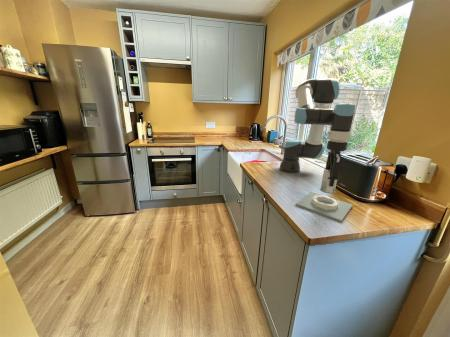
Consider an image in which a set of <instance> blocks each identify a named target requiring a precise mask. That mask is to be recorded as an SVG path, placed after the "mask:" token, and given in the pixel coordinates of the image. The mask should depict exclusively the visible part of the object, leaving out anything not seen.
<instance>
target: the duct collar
mask: <svg viewBox="0 0 450 337" xmlns="http://www.w3.org/2000/svg"><path fill="white" fill-rule="evenodd" d="M322 173H323V174H322V180H321V183H320V184H321V185H320V189H319V190H320V192H322V193H323V194H324V193H325V194H328V195H331V194H333V195H334V194H335V191H336V187H337V186H336V185H337V182H338V179H337V180H335V184H334V189H333V193H329V192H326V187H327V183H328V178H329V177H330V169H325V168H324V170H323V172H322Z"/></svg>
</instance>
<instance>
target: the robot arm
mask: <svg viewBox="0 0 450 337" xmlns="http://www.w3.org/2000/svg"><path fill="white" fill-rule="evenodd" d="M339 95H340V81H339V80H338V79H337V78H310V79H307V80H304V81H303V82H301V83H299V85H298V86H297V88H296V90H295V97H296V99H297V106H298V107H297V108H296V109H295V112H294V117H293V118H294V120H293V121H294V124H297V125H298V124H299V125H310V127H309V132H308V136H307V138H305V140H304V141H303V140H302V139H288V140H286V141H285V142H284V150H283V156H282V161H281V162H280V165H279V170H280V171H282V172H285V173H293V174H294V173H299V172H300V170H301V166H300V159H301V158H302V159H311V160H317V159H321V157H322V156H323V154H324V150H325V143H324V141H323V140H322V138H323V134H324V130H325V126H330V130H329V132H328V133H327V134H328V140H327V144H326V149H327V150H329V151H328V153H327V158H326V164H325V168H324V170H325V169H330V177H329V178H328V183H327V187H326V192H329V193H333V189H334V184H335V180H337V181H338V179H339V173H340V169H341V164H342V160H343V157H342V155H341V152H344V151H346V150H347V147H348V141H349V139H350V134H351V128H352V125H353V121H354V117H355V114H356V113H355V112H356V105H355V104H354V103H336V104H335V106H334V108H330V106H331V105H332V104H333V103H334V101H335V100H337V99H338V98H339ZM333 194H334V193H333Z"/></svg>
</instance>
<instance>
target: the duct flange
mask: <svg viewBox="0 0 450 337" xmlns="http://www.w3.org/2000/svg"><path fill="white" fill-rule="evenodd" d="M295 206H296V207H299V208H301V209H304V210H307V211H309V212H312V213H315V214H318V215H321V216H323V217H325V218H327V219H331V220H333V221H337V222H339V223H342V222H343V221H344V219H345V218H346V217H347V215H348V213H350V211H351V209H352V208H353V207H354V205H353V204H352V203H349V202H345V201H343V200H339V199H335V198H333V197H331V196H327V195H323V194H319V193H316V192H312V191H311V192H309V193H308V194H305V196H304V197H302V198H301V199H299V200H298V201H297V202H296V203H295Z"/></svg>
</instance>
